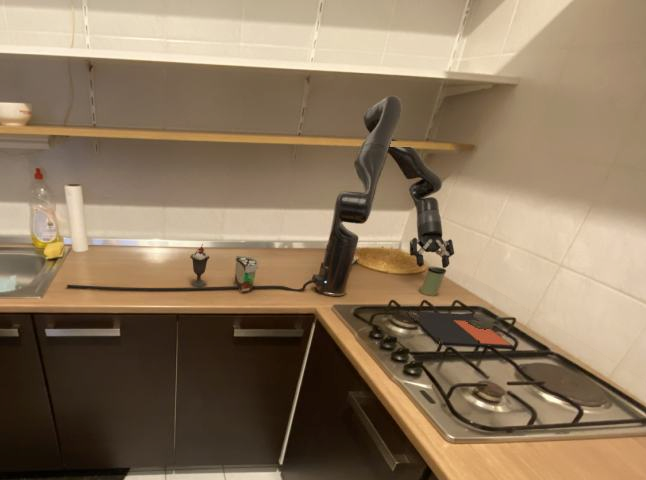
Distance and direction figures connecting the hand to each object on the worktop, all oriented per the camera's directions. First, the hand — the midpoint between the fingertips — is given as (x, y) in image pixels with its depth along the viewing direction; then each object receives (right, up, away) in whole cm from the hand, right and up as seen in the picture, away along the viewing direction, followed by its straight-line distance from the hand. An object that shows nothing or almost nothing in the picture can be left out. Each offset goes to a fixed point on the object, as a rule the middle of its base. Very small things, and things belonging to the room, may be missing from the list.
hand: (433, 266), depth 136 cm
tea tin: (0, -9, +2) cm, 9 cm away
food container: (-67, -8, 0) cm, 67 cm away
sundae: (-83, -6, +1) cm, 84 cm away
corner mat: (-8, -23, -23) cm, 34 cm away
